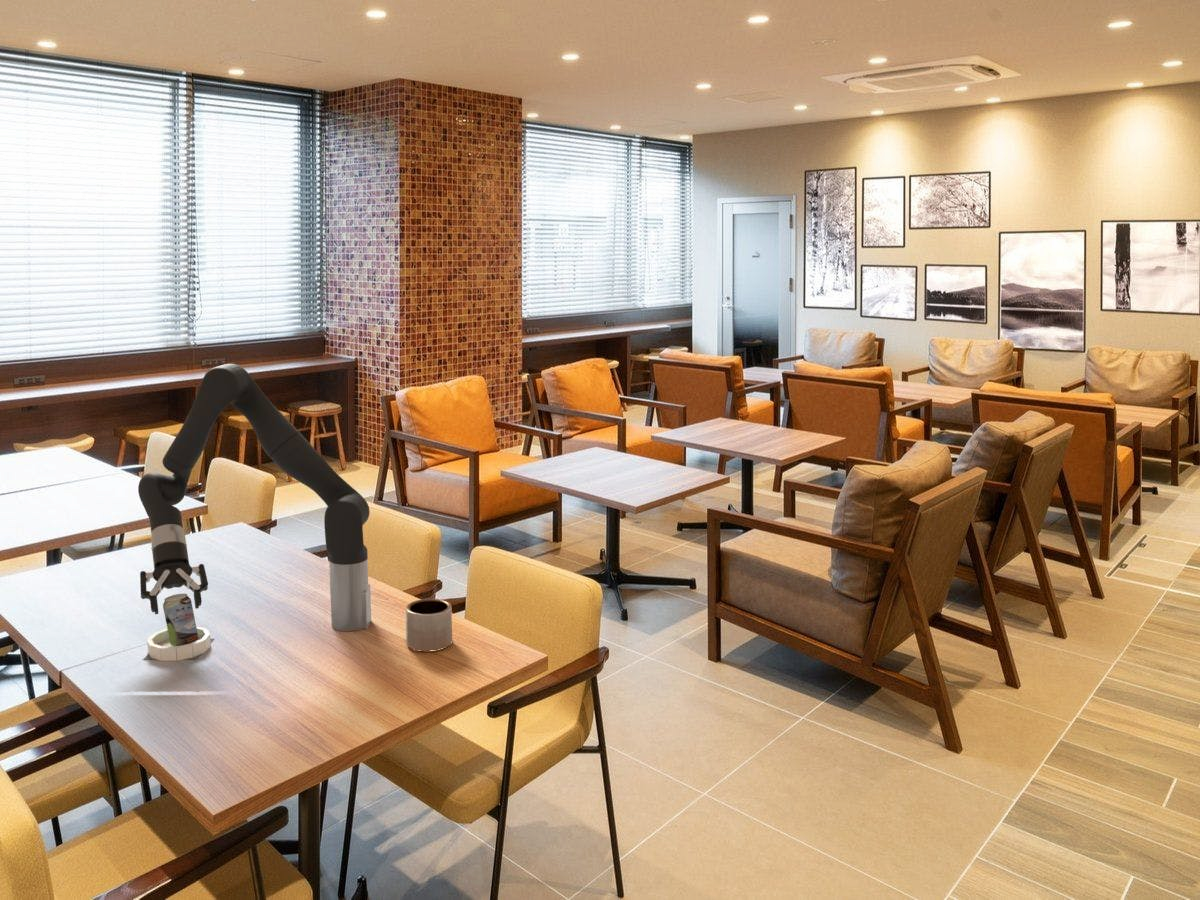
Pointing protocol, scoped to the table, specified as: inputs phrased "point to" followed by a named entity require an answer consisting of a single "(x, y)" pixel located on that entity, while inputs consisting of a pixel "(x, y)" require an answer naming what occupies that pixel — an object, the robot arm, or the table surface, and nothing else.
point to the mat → (183, 659)
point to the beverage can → (180, 620)
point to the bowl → (166, 652)
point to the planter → (428, 624)
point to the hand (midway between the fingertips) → (177, 609)
